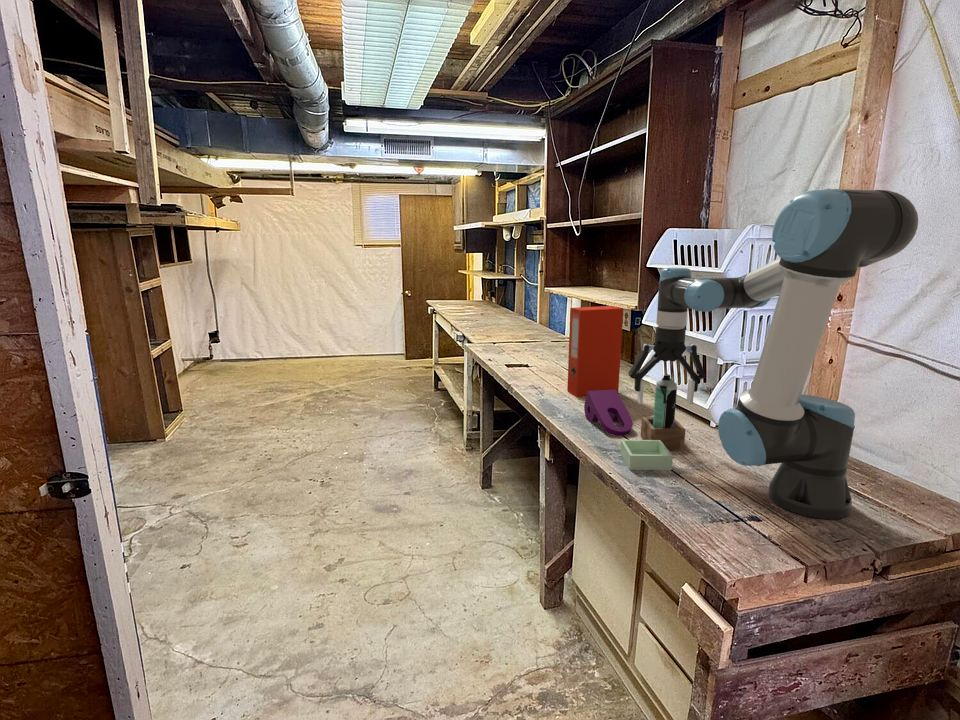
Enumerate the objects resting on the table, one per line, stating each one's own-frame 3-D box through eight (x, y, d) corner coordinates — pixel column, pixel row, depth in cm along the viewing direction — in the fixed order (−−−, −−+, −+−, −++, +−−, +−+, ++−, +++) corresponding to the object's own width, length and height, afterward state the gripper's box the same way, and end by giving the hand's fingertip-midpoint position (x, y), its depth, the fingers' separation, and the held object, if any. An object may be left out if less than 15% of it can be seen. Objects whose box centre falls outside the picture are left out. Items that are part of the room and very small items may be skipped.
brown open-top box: (683, 450, 139) (685, 429, 138) (650, 449, 140) (651, 429, 138) (669, 434, 151) (671, 414, 150) (638, 433, 152) (640, 414, 150)
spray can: (673, 448, 141) (679, 377, 136) (652, 446, 142) (658, 376, 138) (670, 440, 146) (676, 372, 142) (650, 439, 147) (655, 372, 143)
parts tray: (671, 470, 127) (672, 455, 127) (629, 469, 128) (630, 455, 127) (659, 453, 138) (660, 440, 137) (619, 453, 138) (620, 439, 137)
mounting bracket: (630, 449, 155) (609, 408, 169) (638, 430, 150) (615, 389, 164) (601, 452, 154) (582, 410, 167) (607, 432, 148) (587, 391, 162)
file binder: (618, 393, 192) (623, 308, 185) (577, 397, 187) (580, 310, 180) (607, 387, 200) (611, 305, 193) (567, 391, 195) (569, 307, 188)
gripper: (712, 324, 140) (705, 398, 145) (620, 324, 141) (616, 398, 146) (724, 329, 132) (716, 407, 137) (626, 329, 133) (622, 406, 138)
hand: (664, 402), depth 142 cm, fingers open, 13 cm apart
